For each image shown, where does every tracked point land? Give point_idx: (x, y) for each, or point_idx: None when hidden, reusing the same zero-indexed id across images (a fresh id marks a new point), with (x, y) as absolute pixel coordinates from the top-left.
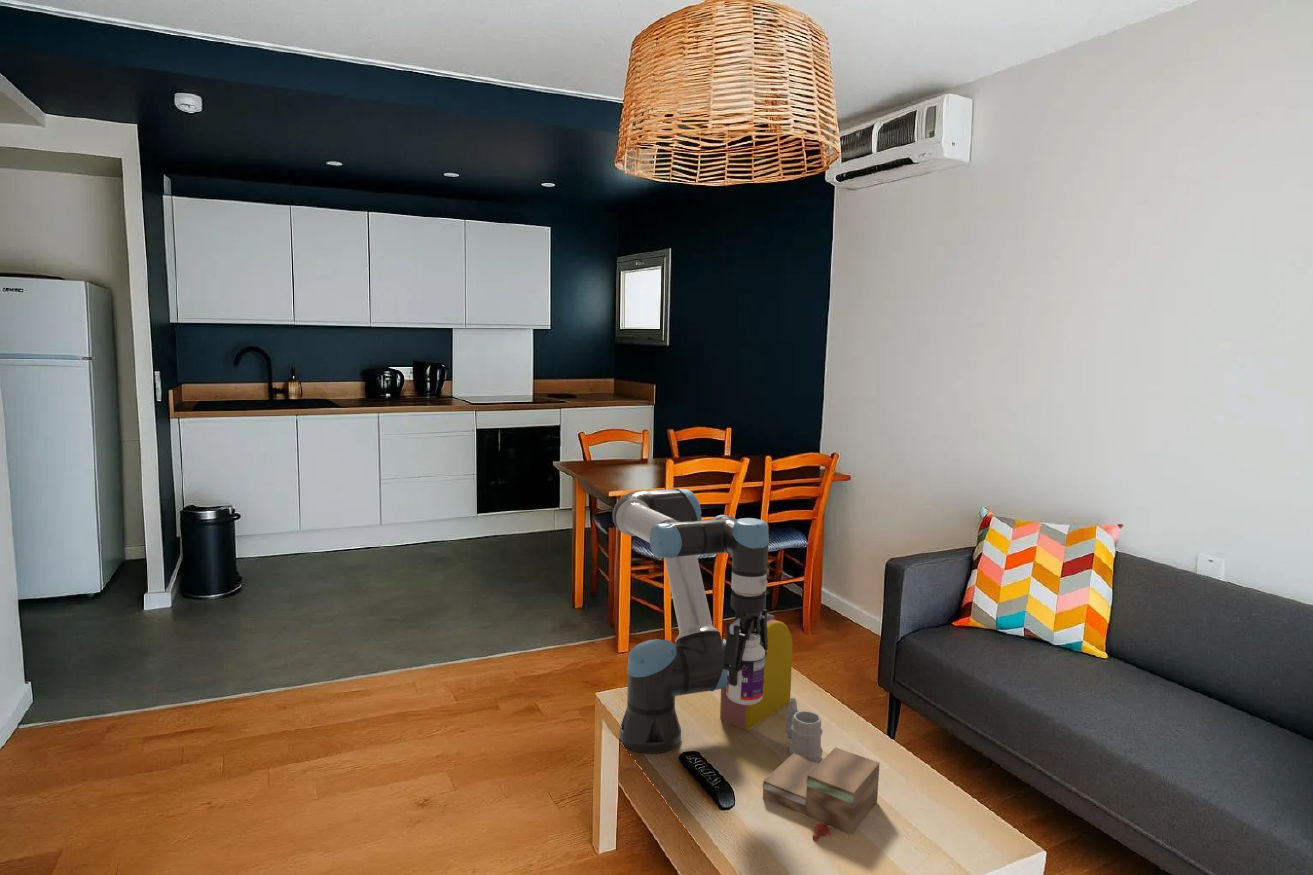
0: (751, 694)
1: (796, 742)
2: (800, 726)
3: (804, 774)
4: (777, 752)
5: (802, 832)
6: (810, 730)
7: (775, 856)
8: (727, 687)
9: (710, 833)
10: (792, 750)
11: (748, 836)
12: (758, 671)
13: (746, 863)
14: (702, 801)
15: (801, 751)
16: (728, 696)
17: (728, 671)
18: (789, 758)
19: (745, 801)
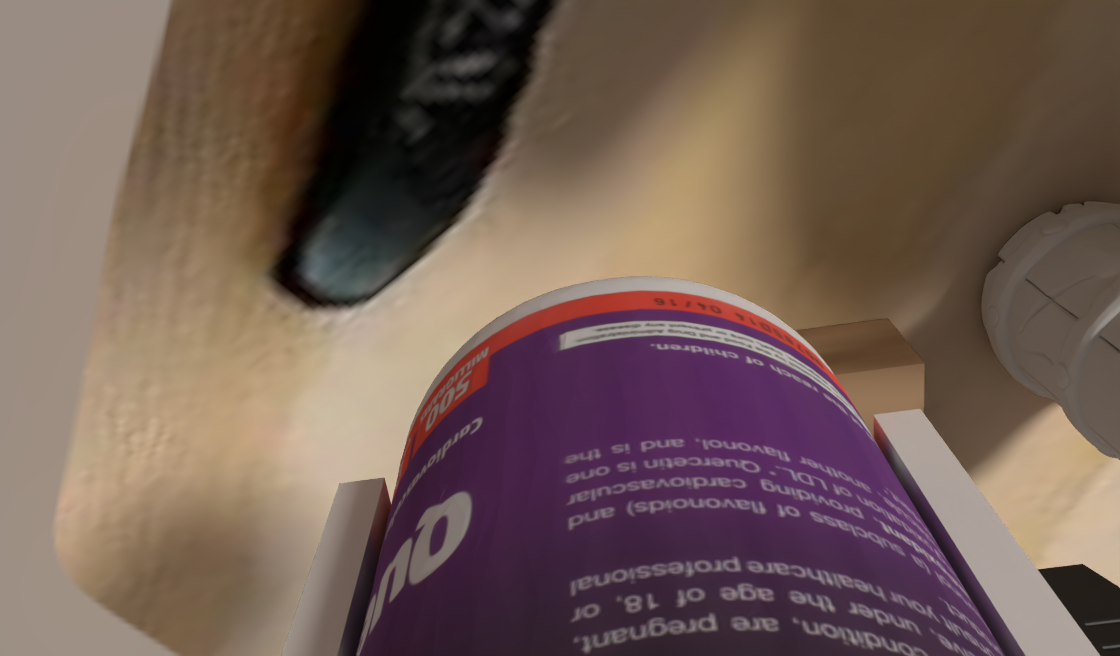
0: None
1: (1043, 326)
2: (1107, 405)
3: None
4: (1010, 145)
5: None
6: (1116, 453)
7: (229, 634)
8: (420, 434)
9: (87, 369)
10: (1015, 275)
11: (230, 495)
12: None
13: (91, 587)
14: (238, 162)
15: (1015, 343)
16: (341, 487)
17: (378, 613)
18: (852, 380)
19: (433, 324)
